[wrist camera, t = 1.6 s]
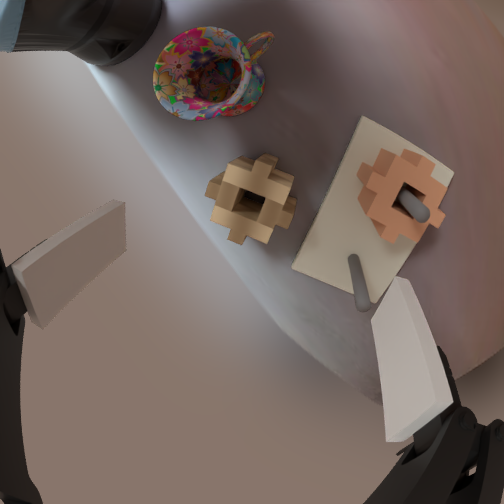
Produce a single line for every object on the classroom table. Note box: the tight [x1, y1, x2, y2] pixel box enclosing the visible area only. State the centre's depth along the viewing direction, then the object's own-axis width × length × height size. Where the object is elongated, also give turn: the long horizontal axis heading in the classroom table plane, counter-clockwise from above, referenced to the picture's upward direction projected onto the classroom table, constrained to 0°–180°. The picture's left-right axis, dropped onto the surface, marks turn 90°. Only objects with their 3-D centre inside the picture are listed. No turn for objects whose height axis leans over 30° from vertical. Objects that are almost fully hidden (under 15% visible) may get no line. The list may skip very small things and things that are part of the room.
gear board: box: [291, 116, 454, 312], centre depth 28 cm, size 14×22×11 cm, turn 160°
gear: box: [205, 153, 297, 245], centre depth 32 cm, size 10×10×6 cm
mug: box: [153, 27, 274, 121], centre depth 23 cm, size 12×9×11 cm
